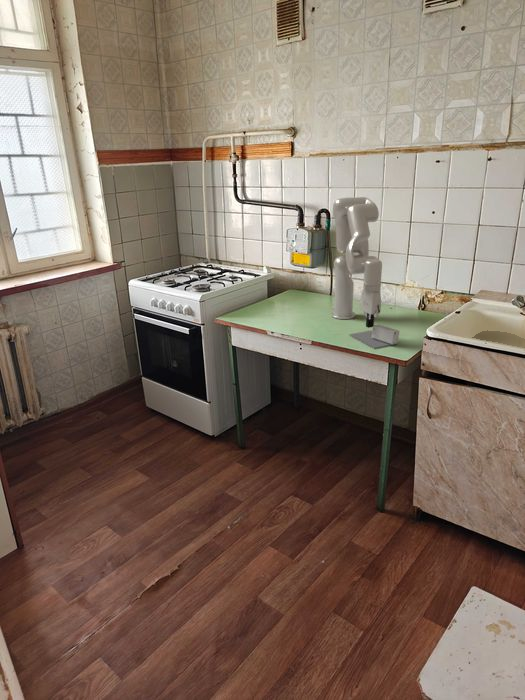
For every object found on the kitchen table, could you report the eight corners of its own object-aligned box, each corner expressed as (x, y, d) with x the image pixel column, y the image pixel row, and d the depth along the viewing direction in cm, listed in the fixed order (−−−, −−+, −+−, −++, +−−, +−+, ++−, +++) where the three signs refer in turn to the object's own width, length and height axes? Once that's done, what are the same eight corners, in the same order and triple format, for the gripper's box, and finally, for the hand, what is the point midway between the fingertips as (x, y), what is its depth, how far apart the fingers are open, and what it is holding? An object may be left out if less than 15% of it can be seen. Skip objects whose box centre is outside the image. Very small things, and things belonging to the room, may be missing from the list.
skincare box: (376, 336, 231) (398, 343, 222) (370, 337, 228) (392, 345, 220) (378, 323, 229) (400, 330, 220) (372, 324, 226) (394, 331, 218)
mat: (348, 335, 235) (348, 334, 235) (370, 331, 239) (370, 330, 239) (374, 349, 218) (374, 347, 217) (396, 344, 222) (396, 343, 222)
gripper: (355, 285, 226) (353, 323, 233) (374, 292, 214) (372, 332, 220) (369, 283, 229) (367, 321, 236) (389, 290, 216) (386, 330, 223)
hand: (369, 326), depth 228 cm, fingers closed
